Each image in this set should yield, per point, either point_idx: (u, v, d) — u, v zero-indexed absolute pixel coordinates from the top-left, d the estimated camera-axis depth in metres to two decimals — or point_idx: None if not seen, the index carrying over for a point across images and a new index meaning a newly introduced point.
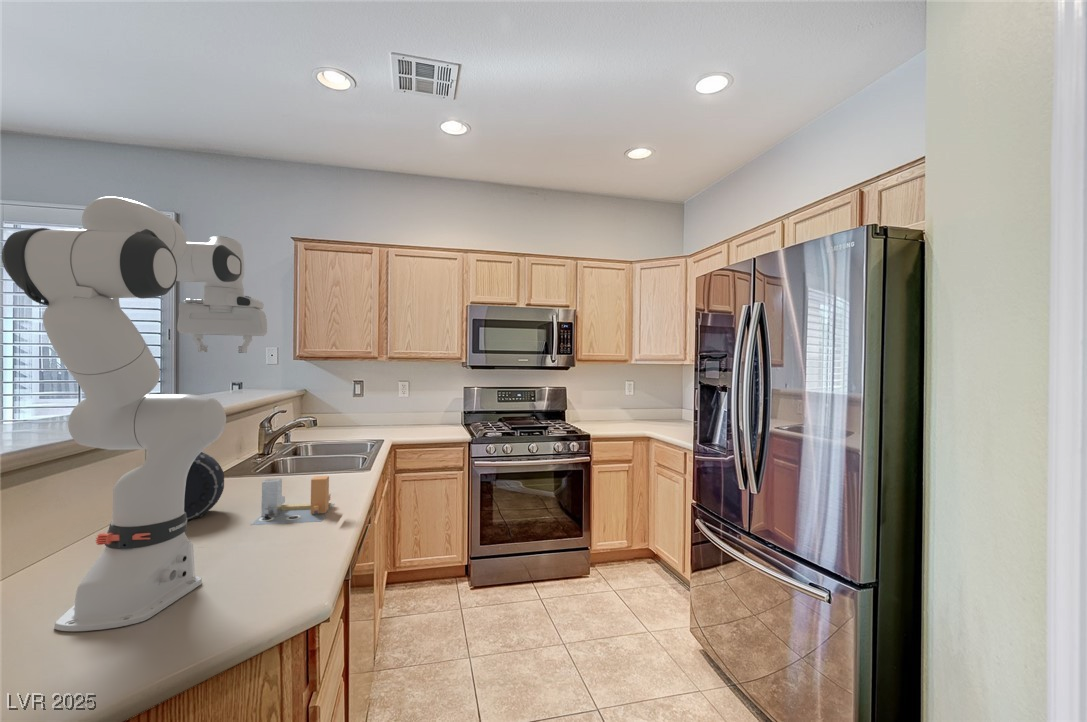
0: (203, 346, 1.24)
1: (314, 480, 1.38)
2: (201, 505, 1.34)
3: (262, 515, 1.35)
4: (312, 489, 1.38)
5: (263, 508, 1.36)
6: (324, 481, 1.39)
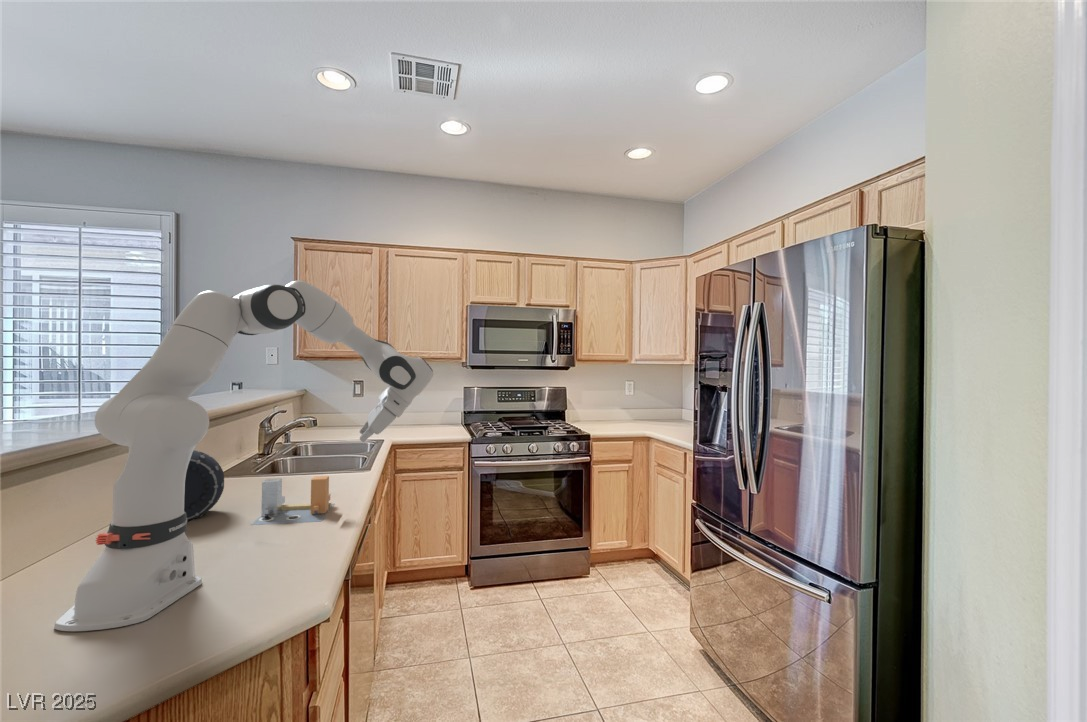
0: (362, 428, 1.49)
1: (314, 480, 1.38)
2: (201, 505, 1.34)
3: (262, 515, 1.35)
4: (312, 489, 1.38)
5: (263, 508, 1.36)
6: (324, 481, 1.39)
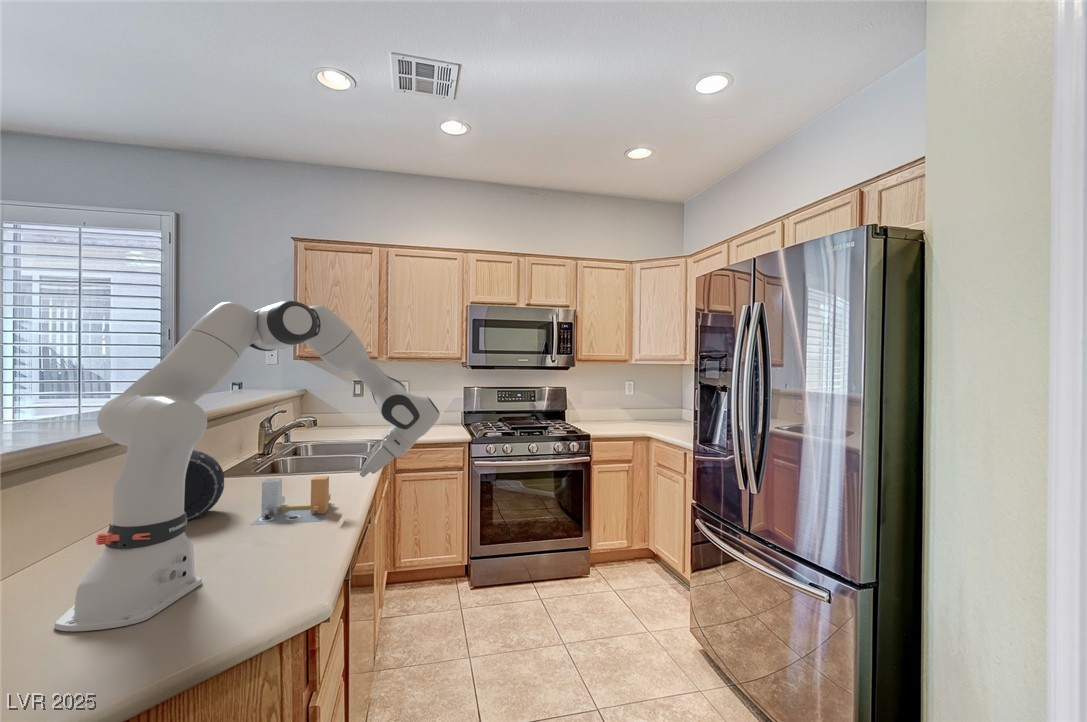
0: None
1: (314, 480, 1.38)
2: (201, 505, 1.34)
3: (262, 515, 1.35)
4: (312, 489, 1.38)
5: (263, 508, 1.36)
6: (324, 481, 1.39)
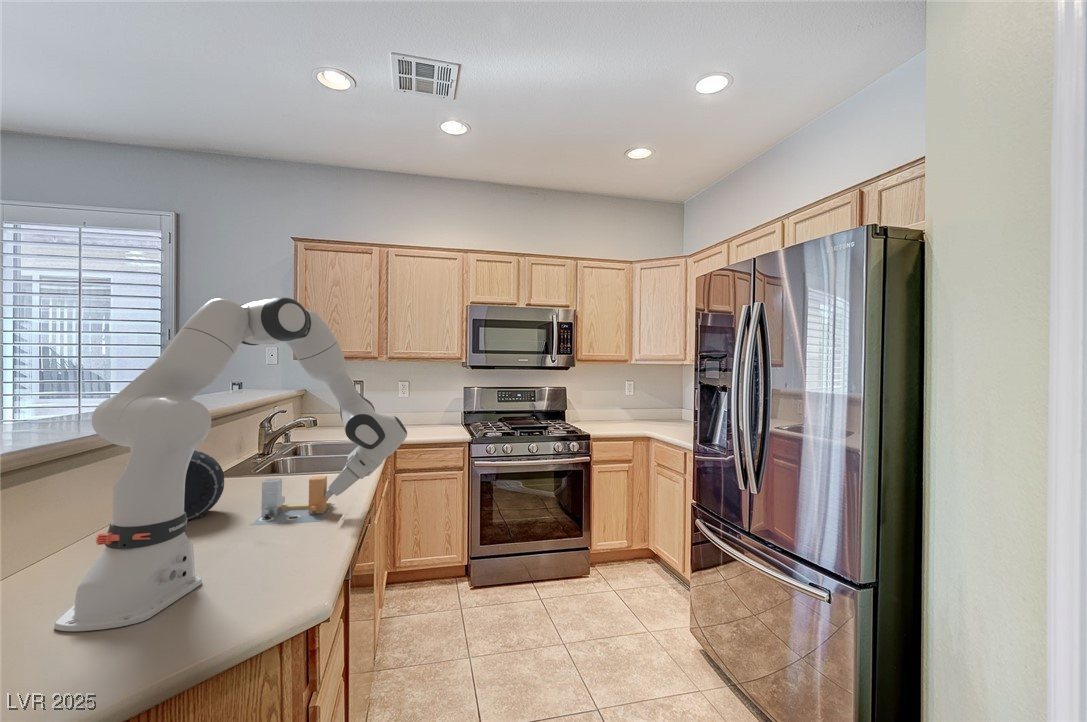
0: None
1: (312, 480, 1.38)
2: (201, 505, 1.34)
3: (262, 515, 1.35)
4: (310, 489, 1.38)
5: (263, 508, 1.36)
6: (322, 481, 1.39)
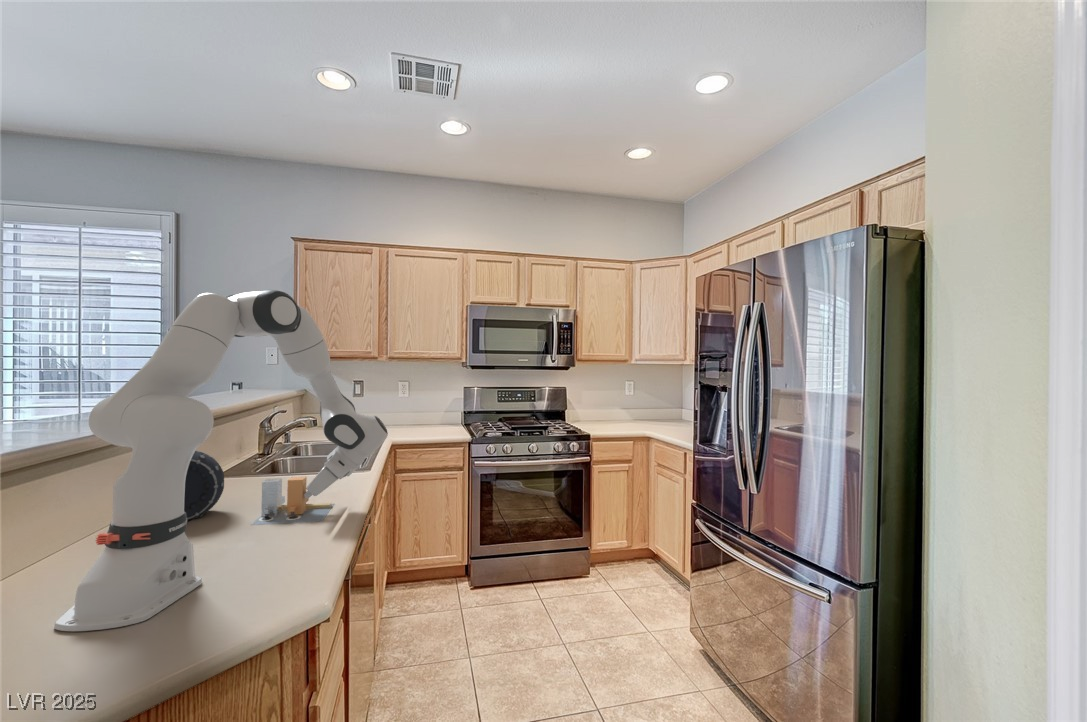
0: None
1: (291, 481, 1.37)
2: (201, 505, 1.34)
3: (262, 515, 1.35)
4: (289, 490, 1.37)
5: (263, 508, 1.36)
6: (301, 482, 1.38)
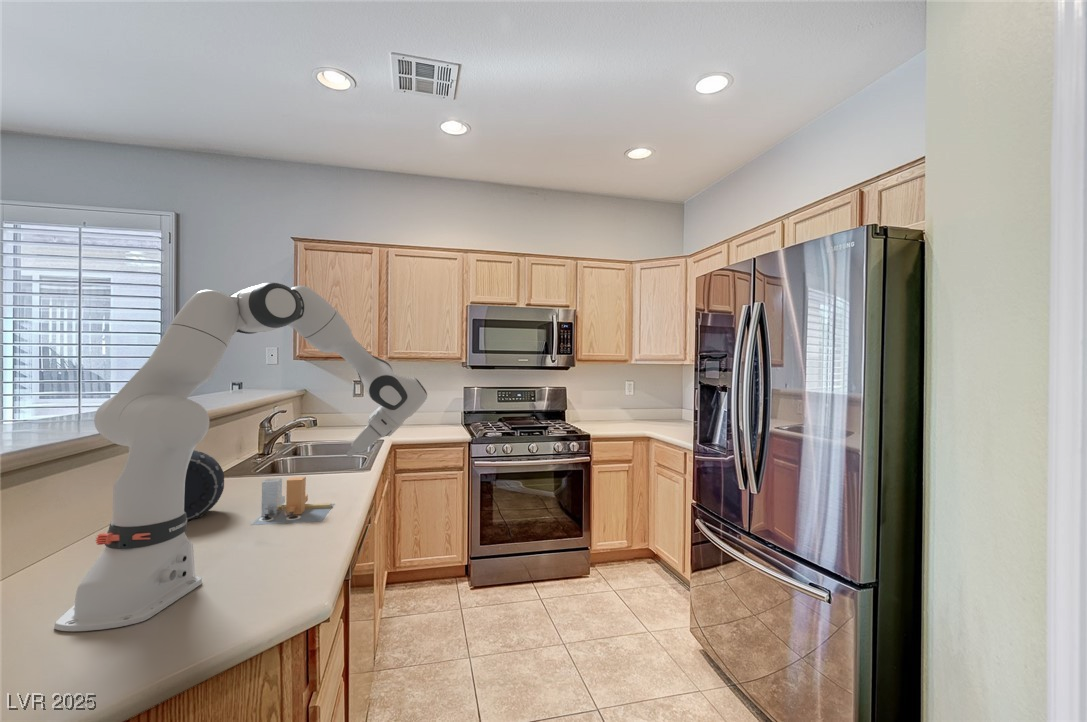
0: None
1: (290, 481, 1.37)
2: (201, 505, 1.34)
3: (262, 515, 1.35)
4: (288, 490, 1.37)
5: (263, 508, 1.36)
6: (300, 482, 1.38)
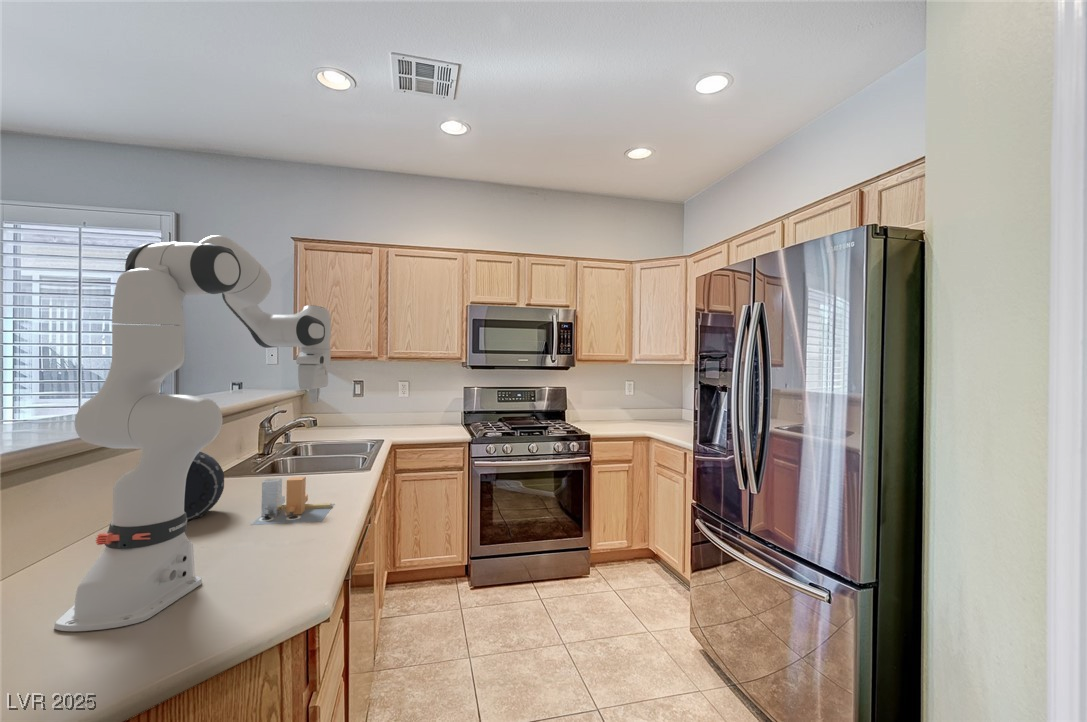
0: None
1: (290, 481, 1.37)
2: (201, 505, 1.34)
3: (262, 515, 1.35)
4: (288, 490, 1.37)
5: (263, 508, 1.36)
6: (300, 482, 1.38)
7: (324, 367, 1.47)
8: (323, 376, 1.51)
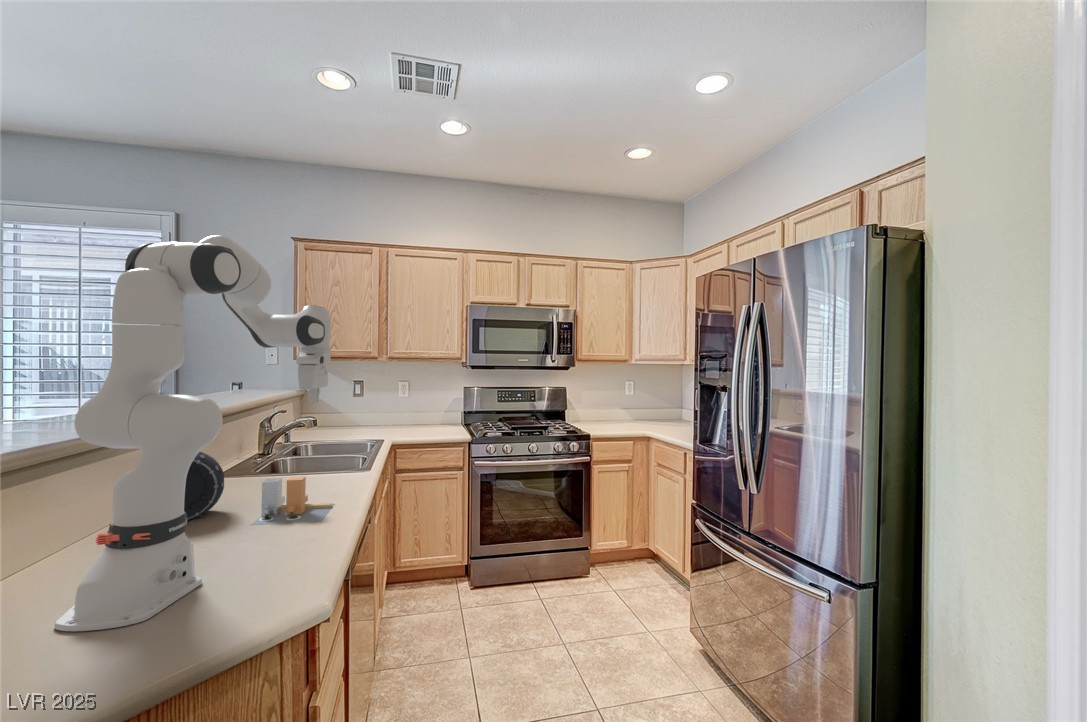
0: None
1: (290, 481, 1.37)
2: (201, 505, 1.34)
3: (262, 515, 1.35)
4: (288, 490, 1.37)
5: (263, 508, 1.36)
6: (300, 482, 1.38)
7: (324, 367, 1.47)
8: (323, 376, 1.51)
